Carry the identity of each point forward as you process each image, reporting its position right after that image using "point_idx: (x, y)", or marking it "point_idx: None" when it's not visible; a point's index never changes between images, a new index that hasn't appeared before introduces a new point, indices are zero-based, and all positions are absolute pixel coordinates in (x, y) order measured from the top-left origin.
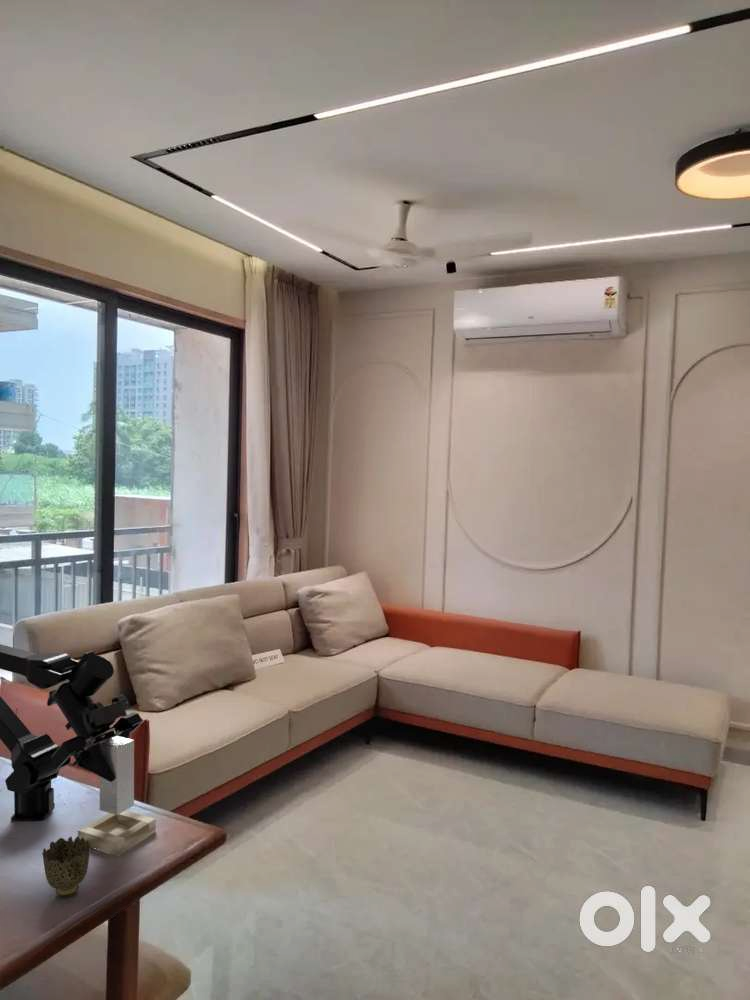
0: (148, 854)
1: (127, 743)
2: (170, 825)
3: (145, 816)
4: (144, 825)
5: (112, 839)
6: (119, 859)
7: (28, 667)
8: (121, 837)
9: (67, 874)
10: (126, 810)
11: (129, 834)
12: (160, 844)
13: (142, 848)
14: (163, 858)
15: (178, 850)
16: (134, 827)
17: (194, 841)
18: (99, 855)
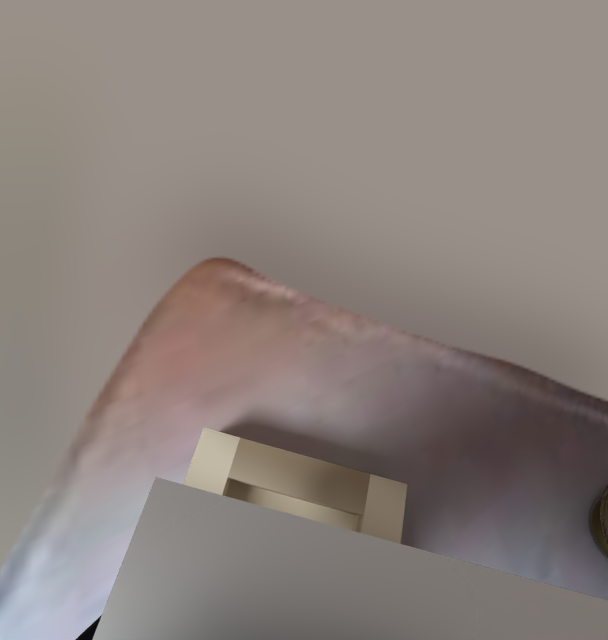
0: (350, 391)
1: (378, 542)
2: (158, 404)
3: (187, 482)
4: (264, 445)
5: (393, 520)
6: (403, 470)
7: None
8: (370, 490)
9: None
10: None
11: (341, 469)
12: (287, 382)
13: (323, 428)
14: (357, 339)
15: (307, 316)
16: (287, 479)
17: (251, 293)
18: None
